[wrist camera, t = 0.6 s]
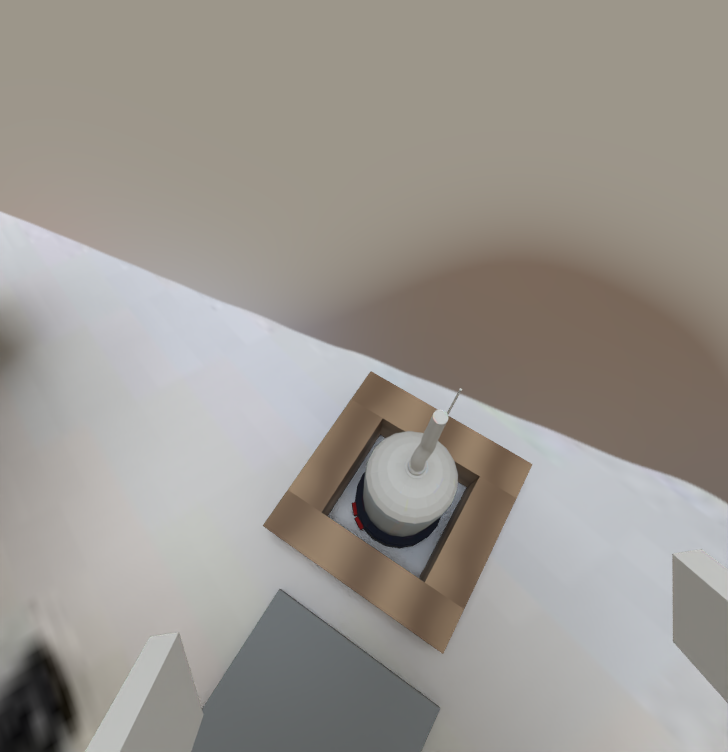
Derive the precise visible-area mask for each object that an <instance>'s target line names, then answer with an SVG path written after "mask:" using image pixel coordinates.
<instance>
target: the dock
mask: <svg viewBox="0 0 728 752" xmlns="http://www.w3.org/2000/svg"><path fill="white" fill-rule="evenodd" d="M436 410H437V409H436V408H434V407H432V406H430V405H429V404H427V403H425V402H423V401H422V400H420V399H418V398H416V397H415V396H413V395H411V394H409V393H408V392H406V391H404V390H403V389H401V388H399V387H397V386H396V385H394V384H392V383H390V382H389V381H387V380H385V379H383V378H382V377H380V376H378V375H376V374H375V373H373V372H370V373H369V375H368V376H367V377H366V379H365V380H364V382H363V383H362V385H361V386H360V387H359V389H358V390H357V392H356V393H355V395H354V396H353V397H352V399H351V400H350V402H349V403H348V405H347V406H346V407H345V409H344V410H343V412H342V413H341V415H340V416H339V417H338V419H337V420H336V422H335V423H334V425H333V426H332V427H331V429H330V430H329V432H328V433H327V435H326V436H325V437H324V439H323V440H322V442H321V443H320V445H319V446H318V447H317V449H316V450H315V452H314V453H313V455H312V456H311V457H310V459H309V460H308V462H307V463H306V465H305V466H304V467H303V469H302V470H301V472H300V473H299V475H298V476H297V477H296V479H295V480H294V482H293V483H292V485H291V486H290V487H289V489H288V490H287V492H286V493H285V495H284V496H283V497H282V499H281V500H280V502H279V503H278V505H277V506H276V508H275V509H274V510H273V512H272V513H271V515H270V516H269V518H268V519H267V520H266V522H265V523H264V525H263V526H264V527H265V528H267V529H268V530H269V531H271V532H272V533H274V534H275V535H276V536H278V537H279V538H281V539H282V540H283V541H285V542H286V543H288V544H289V545H291V546H292V547H293V548H295V549H296V550H298V551H299V552H300V553H302V554H303V555H305V556H306V557H307V558H309V559H310V560H312V561H313V562H314V563H316V564H317V565H319V566H320V567H321V568H323V569H324V570H326V571H327V572H329V573H330V574H331V575H333V576H334V577H336V578H337V579H338V580H340V581H341V582H343V583H344V584H345V585H347V586H348V587H350V588H351V589H352V590H354V591H355V592H357V593H358V594H359V595H361V596H362V597H364V598H365V599H366V600H368V601H369V602H371V603H372V604H374V605H375V606H376V607H378V608H379V609H381V610H382V611H383V612H385V613H386V614H388V615H389V616H390V617H392V618H393V619H395V620H396V621H397V622H399V623H400V624H402V625H403V626H404V627H406V628H407V629H409V630H410V631H412V632H413V633H414V634H416V635H417V636H419V637H420V638H421V639H423V640H424V641H426V642H427V643H428V644H430V645H431V646H433V647H434V648H435V649H437V650H438V651H440V652H441V653H442V654H443V653H444V651H445V649H446V646H447V644H448V642H449V640H450V638H451V636H452V634H453V632H454V630H455V627H456V625H457V623H458V621H459V619H460V617H461V615H462V613H463V610H464V608H465V606H466V604H467V602H468V600H469V598H470V596H471V593H472V591H473V589H474V587H475V585H476V583H477V581H478V579H479V577H480V574H481V572H482V570H483V568H484V566H485V564H486V562H487V560H488V557H489V555H490V553H491V551H492V549H493V547H494V545H495V543H496V540H497V538H498V536H499V534H500V532H501V530H502V528H503V526H504V523H505V521H506V519H507V517H508V515H509V513H510V511H511V509H512V507H513V504H514V502H515V500H516V498H517V496H518V494H519V492H520V490H521V487H522V485H523V483H524V481H525V479H526V477H527V475H528V473H529V470H530V468H531V466H532V464H531V463H529V462H528V461H526V460H524V459H522V458H521V457H519V456H517V455H515V454H514V453H512V452H510V451H508V450H507V449H505V448H503V447H502V446H500V445H498V444H496V443H495V442H493V441H491V440H489V439H488V438H486V437H484V436H482V435H481V434H479V433H477V432H475V431H474V430H472V429H470V428H469V427H467V426H465V425H463V424H462V423H460V422H458V421H456V420H455V419H453V418H451V417H449V416H448V421H447V423H446V425H445V427H444V429H443V431H442V433H441V435H440V437H439V439H438V441H439V442H440V443H441V444H442V445H443V446H444V447H446V448H447V450H448V451H449V453H450V455H451V456H452V458H453V460H454V462H455V465H456V469H457V473H458V482H459V483H461V484H462V485H464V486H466V487H467V488H466V490H465V492H464V494H463V495H462V497H461V499H460V501H459V503H458V505H457V507H456V509H455V511H454V513H453V514H452V516H451V518H450V520H449V522H448V524H447V526H446V528H445V530H444V532H443V534H442V535H441V537H440V539H439V541H438V543H437V545H436V547H435V549H434V551H433V553H432V554H431V556H430V558H429V560H428V562H427V564H426V566H425V568H424V570H423V572H422V573H421V575H420V577H419V578H417V577H416V576H414V575H413V574H411V573H410V572H409V571H407V570H406V569H404V568H403V567H401V566H400V565H398V564H397V563H395V562H394V561H392V560H391V559H389V558H388V557H386V556H385V555H383V554H382V553H380V552H379V551H378V550H376V549H375V548H373V547H372V546H370V545H369V544H367V543H366V542H364V541H363V540H361V539H360V538H358V537H357V536H355V535H354V534H352V533H351V532H350V531H348V530H347V529H345V528H344V527H342V526H341V525H339V524H338V523H336V522H335V521H333V520H332V519H330V518H329V517H327V516H328V515H329V513H330V512H331V510H332V508H333V507H334V505H335V504H336V502H337V501H338V499H339V498H340V496H341V494H342V493H343V491H344V490H345V488H346V487H347V485H348V484H349V482H350V481H351V479H352V477H353V476H354V474H355V473H356V471H357V470H358V468H359V467H360V465H361V463H362V462H363V460H364V459H365V457H366V456H367V454H368V453H369V451H370V449H371V448H372V446H373V445H374V443H375V442H376V440H377V439H378V437H379V435H382V436H384V437H385V438H387V437H389V436H391V435H393V434H395V433H400V432H406V431H413V432H420V433H424V431H425V430H426V428H427V426H428V423H429V421H430V419H431V417H432V415H433V413H434V412H435V411H436Z"/></svg>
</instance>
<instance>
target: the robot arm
mask: <svg viewBox="0 0 728 752" xmlns="http://www.w3.org/2000/svg"><path fill="white" fill-rule="evenodd" d="M673 642H674V643H675V644H676V646H677V647H678V648H679V649H680V650H681V651H682V652H683V653H684V655H685V656H686V657H687V658H688V659H689V660H690V661H691V662H692V664H693V665H694V666H695V667H696V668H697V669H698V670H699V671H700V673H701V674H702V675H703V676H704V677H705V678H706V679H707V680H708V682H709V683H710V684H711V685H712V686H713V687H714V688H715V689H716V691H717V692H718V693H719V694H720V695H721V696H722V697H723V698H724V700H725V701H726V702H727V703H728V569H727V568H725V567H724V566H723V565H721V564H720V563H719V562H717V561H716V560H715V559H714V558H712V557H711V556H710V555H708V554H707V553H706V552H704V551H703V550H702V549H700V550H694V551H688V552H681V553H675V554H673ZM202 718H203V711H202V708H201V705H200V701H199V698H198V695H197V691H196V688H195V685H194V681H193V678H192V674H191V671H190V668H189V664H188V661H187V658H186V654H185V651H184V648H183V644H182V641H181V638H180V634H179V632H175V633H169V634H162V635H156V636H150V638H149V639H148V641H147V643H146V645H145V647H144V648H143V650H142V652H141V654H140V655H139V657H138V659H137V661H136V662H135V664H134V666H133V668H132V670H131V671H130V673H129V675H128V677H127V678H126V680H125V682H124V684H123V685H122V687H121V689H120V691H119V693H118V694H117V696H116V698H115V700H114V701H113V703H112V705H111V707H110V708H109V710H108V712H107V714H106V715H105V717H104V719H103V721H102V723H101V724H100V726H99V728H98V730H97V731H96V733H95V735H94V737H93V738H92V740H91V742H90V744H89V746H88V747H87V749H86V751H85V752H191V750H192V748H193V745H194V742H195V739H196V736H197V733H198V730H199V727H200V724H201V721H202Z"/></svg>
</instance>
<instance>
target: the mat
mask: <svg viewBox="0 0 728 752" xmlns="http://www.w3.org/2000/svg"><path fill="white" fill-rule="evenodd" d="M439 710H440V708H439V706H437V705H436V704H435V703H433V702H432V701H431V700H429V699H428V698H427V697H425V696H424V695H423V694H421V693H420V692H418V691H417V690H416V689H414V688H413V687H412V686H410V685H409V684H408V683H406V682H405V681H404V680H402V679H401V678H400V677H398V676H397V675H396V674H394V673H393V672H392V671H390V670H389V669H387V668H386V667H385V666H383V665H382V664H381V663H379V662H378V661H377V660H375V659H374V658H373V657H371V656H370V655H369V654H367V653H366V652H365V651H363V650H362V649H361V648H359V647H358V646H356V645H355V644H354V643H352V642H351V641H350V640H348V639H347V638H346V637H344V636H343V635H342V634H340V633H339V632H338V631H336V630H335V629H334V628H332V627H331V626H330V625H328V624H327V623H325V622H324V621H323V620H321V619H320V618H319V617H317V616H316V615H315V614H313V613H312V612H311V611H309V610H308V609H307V608H305V607H304V606H303V605H301V604H300V603H299V602H297V601H296V600H294V599H293V598H292V597H290V596H289V595H288V594H286V593H285V592H284V591H282V590H281V589H279V591H278V592H277V594H276V595H275V597H274V599H273V600H272V602H271V603H270V605H269V606H268V608H267V609H266V611H265V612H264V614H263V616H262V617H261V619H260V620H259V622H258V623H257V625H256V626H255V628H254V630H253V631H252V633H251V634H250V636H249V637H248V639H247V640H246V642H245V643H244V645H243V647H242V648H241V650H240V651H239V653H238V654H237V656H236V657H235V659H234V661H233V662H232V664H231V665H230V667H229V668H228V670H227V671H226V673H225V674H224V676H223V678H222V679H221V681H220V682H219V684H218V685H217V687H216V688H215V690H214V692H213V693H212V695H211V696H210V698H209V699H208V701H207V702H206V704H205V705H204V707H203V709H202V711H203V718H202V721H201V724H200V727H199V730H198V733H197V736H196V739H195V742H194V745H193V748H192V750H191V752H421V750H422V748H423V746H424V743H425V741H426V739H427V737H428V735H429V732H430V730H431V728H432V726H433V723H434V721H435V719H436V717H437V715H438V712H439Z"/></svg>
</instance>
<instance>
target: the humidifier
mask: <svg viewBox="0 0 728 752" xmlns="http://www.w3.org/2000/svg"><path fill="white" fill-rule="evenodd" d="M461 390H462V389H460V390H459V392H458V393H457V395H456V397H455V399H454V401H453V403H452V405H451V406H450V408H449V410H448V412H445V411H444V410H440V409H439V410H436V411H435V412H434V413H433V415H432V417H431V419H430V421H429V423H428V426H427V428H426V430H425V431H424V433H420V432H413V431H406V432H400V433H395V434H393V435H391V436H389V437H387V438H386V439H384V440H383V441H382V442H381V443H380V444H379V445H378V446H377V447H376V448H375V449H374V450H373V452H372V454H371V456H370V458H369V460H368V462H367V464H366V471H365V473H364V474H363V475H362V477H361V480H360V482H359V484H358V486H357V492H356V498H355V502H354V503H352V507H353V513H354V516H357V517H356V518H355V521H356V523H357V525H358V527H359V528H360V530H362V529H364V530H365V531H366V532H367V533H368V534H369V535H370V536H371V538H372V539H373V540H375V541H377V542H379V543H381V544H383V545H385V546H389V547H395V548H403V547H408V546H413V545H415V544H417V543H418V542H420V541H422V540H424V539H425V538H427V537H428V536H429V535H430V534H431V533H432V532H433V530H434V529H435V528H436V527H437V525H438V523H439V520H440V518H441V516H442V515H443V514H444V513H445V511H446V510H447V509H448V508H449V507H450V506H451V503H452V501H453V499H454V496H455V494H456V491H457V484H458V473H457V469H456V465H455V462H454V460H453V458H452V456H451V455H450V453H449V451H448V450H447V448H446V447H444V446H443V445H442V444H441V443H440V442H439V441H438V439H439V437H440V435H441V433H442V431H443V429H444V427H445V425H446V423H447V421H448V414H449V412H450V410H451V409H452V407H453V405H454V403H455V401H456V399H457V398H458V396H459V394H460V392H461Z"/></svg>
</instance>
